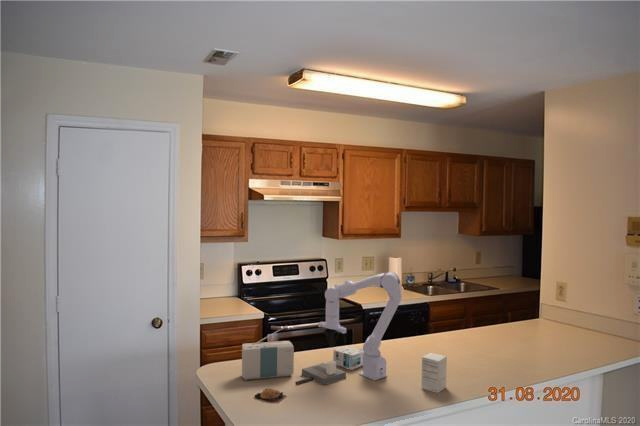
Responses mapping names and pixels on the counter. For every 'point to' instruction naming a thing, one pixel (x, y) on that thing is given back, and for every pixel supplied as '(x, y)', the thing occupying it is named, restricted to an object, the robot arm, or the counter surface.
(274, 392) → the bread roll
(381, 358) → the robot arm
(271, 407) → the counter surface
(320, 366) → the box
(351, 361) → the light bulb box
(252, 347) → the stereo radio cassette player
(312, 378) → the power cord
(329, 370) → the breaker toggle
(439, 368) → the supplement box
